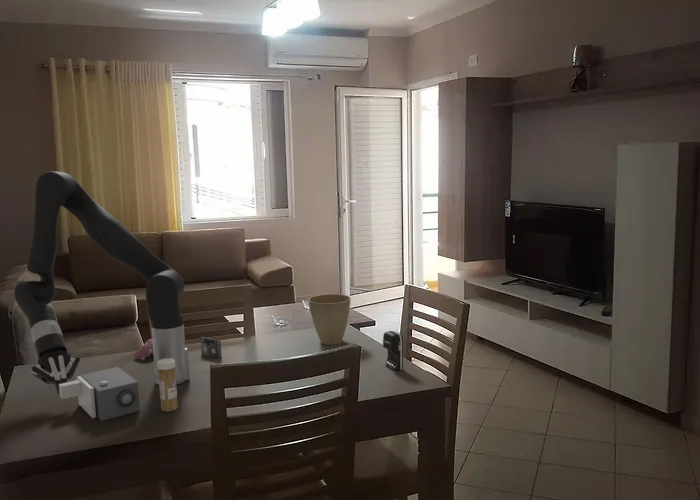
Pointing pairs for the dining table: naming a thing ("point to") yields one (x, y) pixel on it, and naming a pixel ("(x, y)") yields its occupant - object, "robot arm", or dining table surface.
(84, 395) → the side cover
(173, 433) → the dining table surface
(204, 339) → the mini dv tape
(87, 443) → the dining table surface
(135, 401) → the box
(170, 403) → the sprinkles bottle
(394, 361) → the battery charger
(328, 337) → the plant pot
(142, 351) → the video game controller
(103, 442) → the dining table surface
